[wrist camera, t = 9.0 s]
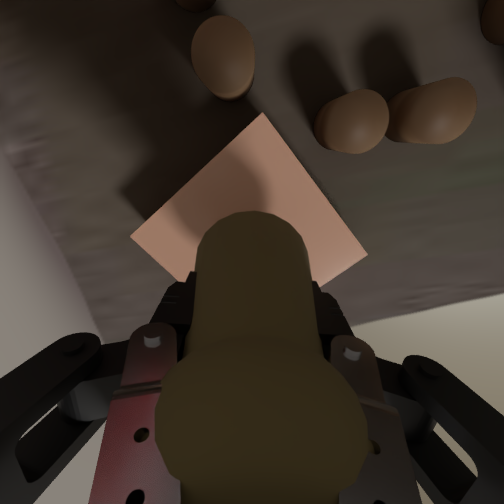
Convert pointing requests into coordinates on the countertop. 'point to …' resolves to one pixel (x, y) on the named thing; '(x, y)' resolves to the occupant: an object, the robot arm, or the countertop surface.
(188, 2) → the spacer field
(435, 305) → the countertop surface
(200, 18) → the countertop surface
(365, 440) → the cork
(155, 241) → the tile
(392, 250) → the countertop surface
